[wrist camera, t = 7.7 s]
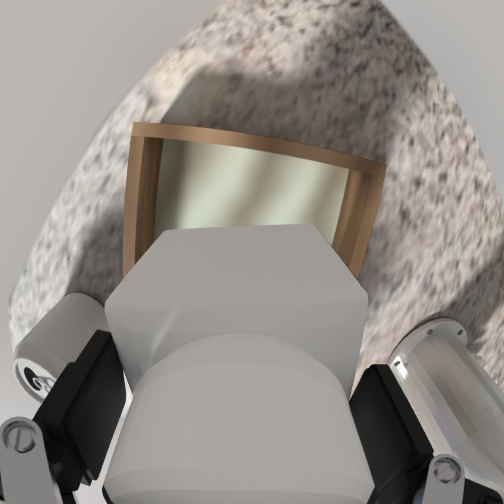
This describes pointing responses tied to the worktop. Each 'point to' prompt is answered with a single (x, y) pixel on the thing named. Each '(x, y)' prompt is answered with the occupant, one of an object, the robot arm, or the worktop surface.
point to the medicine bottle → (239, 371)
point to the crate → (244, 187)
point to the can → (56, 343)
